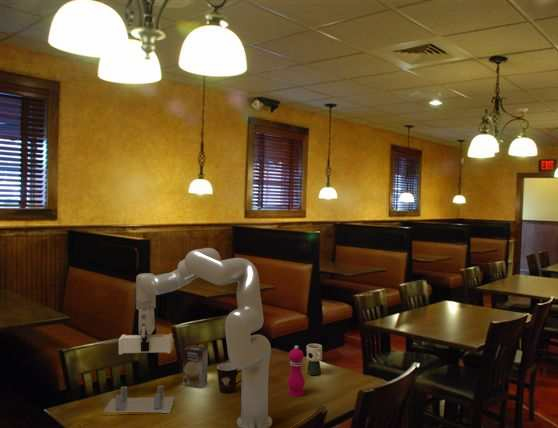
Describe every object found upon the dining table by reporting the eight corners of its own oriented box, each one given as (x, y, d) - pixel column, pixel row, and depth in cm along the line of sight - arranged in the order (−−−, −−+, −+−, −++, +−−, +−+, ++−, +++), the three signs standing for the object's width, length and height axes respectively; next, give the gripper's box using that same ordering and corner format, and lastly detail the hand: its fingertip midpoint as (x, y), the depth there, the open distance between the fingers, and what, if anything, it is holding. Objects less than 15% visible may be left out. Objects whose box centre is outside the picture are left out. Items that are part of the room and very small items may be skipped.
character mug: (301, 371, 231) (302, 343, 230) (315, 369, 234) (315, 341, 233) (312, 379, 221) (313, 350, 220) (326, 376, 224) (327, 348, 223)
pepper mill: (303, 397, 200) (303, 348, 200) (285, 396, 202) (286, 347, 201) (305, 390, 207) (306, 343, 207) (288, 389, 209) (289, 342, 208)
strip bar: (170, 353, 198) (169, 336, 198) (118, 354, 196) (118, 337, 196) (172, 347, 205) (172, 332, 204) (122, 349, 203) (122, 333, 203)
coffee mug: (212, 392, 205) (212, 368, 205) (224, 385, 213) (224, 362, 212) (236, 397, 200) (236, 373, 199) (247, 390, 207) (247, 366, 207)
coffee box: (182, 386, 211) (182, 349, 210) (188, 380, 217) (188, 344, 217) (202, 388, 209) (202, 351, 208) (208, 383, 215) (208, 346, 214)
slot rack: (170, 413, 184) (170, 396, 184) (103, 415, 182) (103, 398, 182) (174, 400, 196) (174, 384, 196) (111, 402, 194) (111, 385, 194)
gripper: (151, 309, 192) (152, 355, 192) (158, 300, 208) (158, 343, 209) (132, 309, 191) (132, 356, 192) (140, 300, 208) (140, 343, 208)
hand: (146, 349), depth 200 cm, fingers closed on strip bar, 4 cm apart
